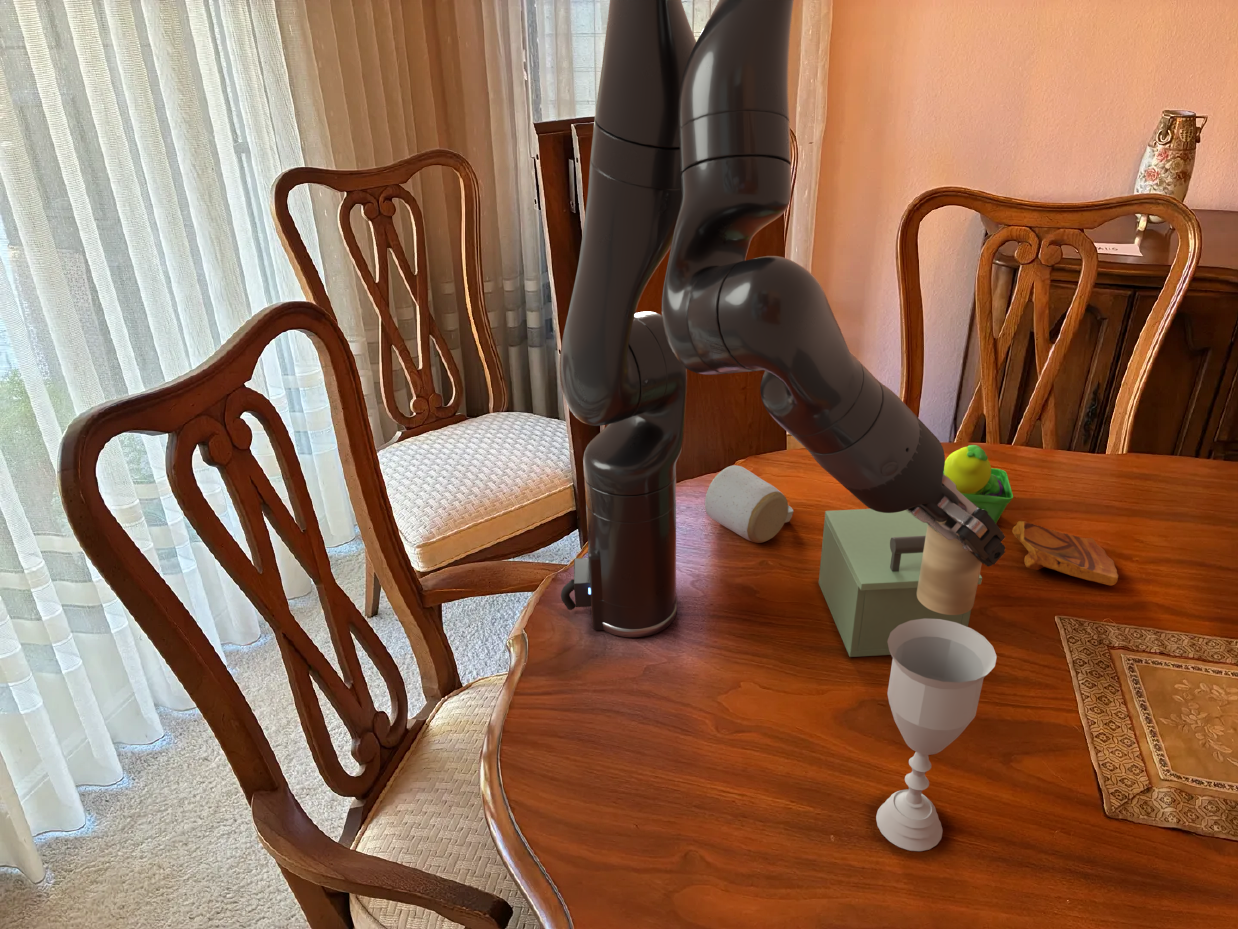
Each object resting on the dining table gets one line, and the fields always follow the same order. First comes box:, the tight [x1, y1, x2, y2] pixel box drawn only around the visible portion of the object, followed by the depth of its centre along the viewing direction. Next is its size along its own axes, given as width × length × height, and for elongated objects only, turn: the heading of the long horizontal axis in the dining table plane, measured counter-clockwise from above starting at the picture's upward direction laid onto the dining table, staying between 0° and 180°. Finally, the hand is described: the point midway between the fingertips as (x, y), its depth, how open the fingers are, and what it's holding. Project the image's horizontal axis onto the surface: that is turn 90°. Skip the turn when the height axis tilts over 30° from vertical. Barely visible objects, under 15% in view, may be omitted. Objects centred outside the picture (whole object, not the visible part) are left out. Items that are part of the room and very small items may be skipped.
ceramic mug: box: [704, 464, 794, 544], centre depth 107 cm, size 11×8×8 cm
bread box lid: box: [824, 508, 983, 591], centre depth 86 cm, size 13×12×4 cm
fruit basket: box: [943, 444, 1014, 524], centre depth 106 cm, size 11×9×11 cm
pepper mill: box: [917, 503, 983, 615], centre depth 74 cm, size 5×5×10 cm
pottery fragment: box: [1011, 520, 1119, 586], centre depth 98 cm, size 10×5×10 cm
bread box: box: [818, 517, 972, 658], centre depth 90 cm, size 13×12×9 cm
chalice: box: [875, 619, 998, 852], centre depth 64 cm, size 7×7×18 cm
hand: (971, 540), depth 74 cm, fingers closed on pepper mill, 5 cm apart
